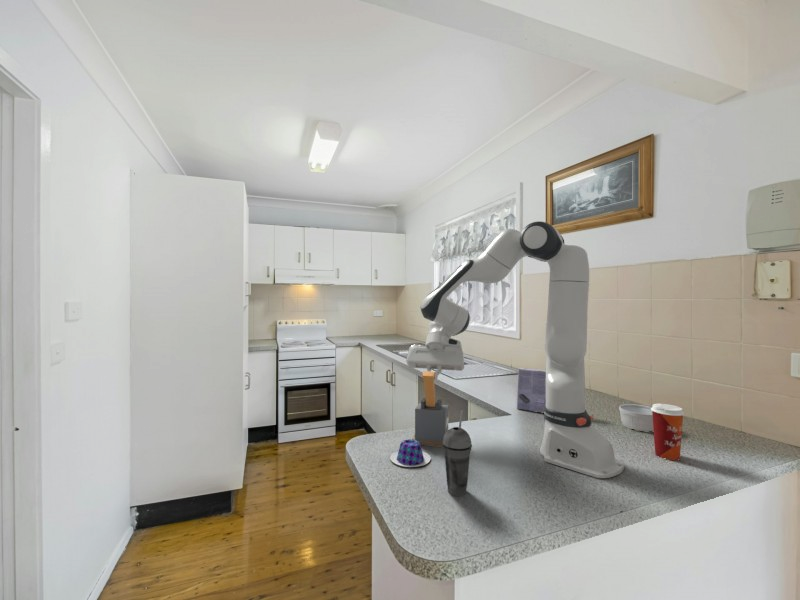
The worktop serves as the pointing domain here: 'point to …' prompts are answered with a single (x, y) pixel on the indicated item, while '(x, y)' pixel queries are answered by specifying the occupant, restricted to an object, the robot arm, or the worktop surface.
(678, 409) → the coffee cup
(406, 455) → the pudding
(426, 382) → the lever
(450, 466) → the beverage cup
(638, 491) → the worktop surface
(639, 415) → the ramekin
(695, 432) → the worktop surface
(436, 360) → the robot arm
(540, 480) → the worktop surface
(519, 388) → the cake pan box
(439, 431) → the box
